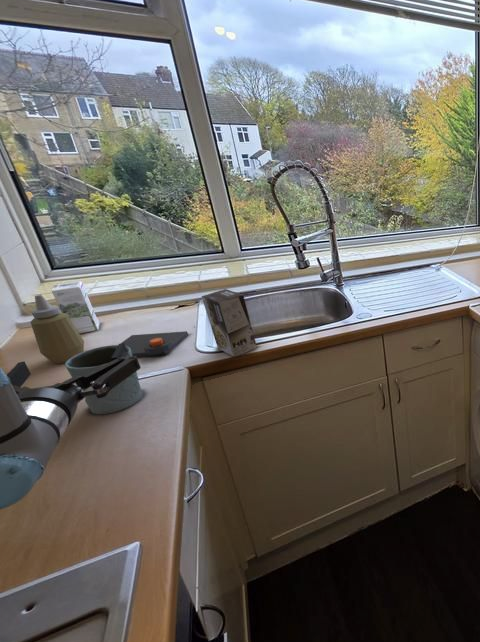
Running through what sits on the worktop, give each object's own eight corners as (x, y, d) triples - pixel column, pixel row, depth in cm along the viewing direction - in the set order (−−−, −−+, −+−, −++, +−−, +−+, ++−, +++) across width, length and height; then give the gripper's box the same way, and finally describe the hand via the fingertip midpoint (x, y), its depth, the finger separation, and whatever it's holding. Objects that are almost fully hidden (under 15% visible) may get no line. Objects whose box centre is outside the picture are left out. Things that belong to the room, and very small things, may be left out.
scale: (101, 363, 105) (97, 353, 104) (133, 339, 117) (129, 330, 116) (166, 357, 108) (163, 347, 107) (191, 335, 120) (188, 326, 119)
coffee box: (258, 347, 114) (244, 294, 108) (234, 357, 109) (218, 302, 103) (240, 339, 118) (226, 288, 112) (216, 348, 113) (200, 295, 107)
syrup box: (100, 324, 126) (81, 280, 120) (98, 331, 121) (79, 285, 116) (74, 329, 122) (53, 284, 117) (71, 336, 118) (50, 290, 112)
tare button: (149, 347, 108) (147, 342, 107) (154, 343, 110) (152, 338, 110) (160, 346, 108) (158, 341, 108) (165, 342, 111) (163, 337, 110)
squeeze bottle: (43, 369, 102) (9, 304, 95) (48, 356, 108) (17, 294, 101) (87, 359, 107) (58, 296, 100) (90, 347, 112) (63, 287, 105)
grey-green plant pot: (89, 400, 91) (67, 354, 86) (147, 383, 97) (130, 339, 93) (86, 423, 84) (62, 374, 79) (149, 403, 90) (130, 357, 86)
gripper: (-85, 474, 56) (-12, 395, 72) (149, 413, 68) (166, 358, 84) (-117, 430, 53) (-34, 358, 69) (134, 375, 65) (154, 325, 81)
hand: (76, 358), depth 77 cm, fingers open, 13 cm apart
